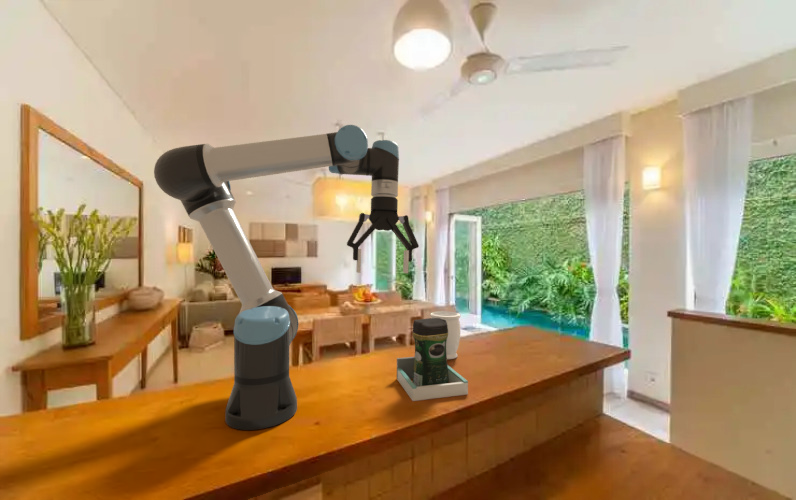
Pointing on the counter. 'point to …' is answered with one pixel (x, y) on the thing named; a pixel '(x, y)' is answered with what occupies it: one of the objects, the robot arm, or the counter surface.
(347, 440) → the counter surface
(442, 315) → the jar
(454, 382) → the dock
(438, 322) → the coffee jar
